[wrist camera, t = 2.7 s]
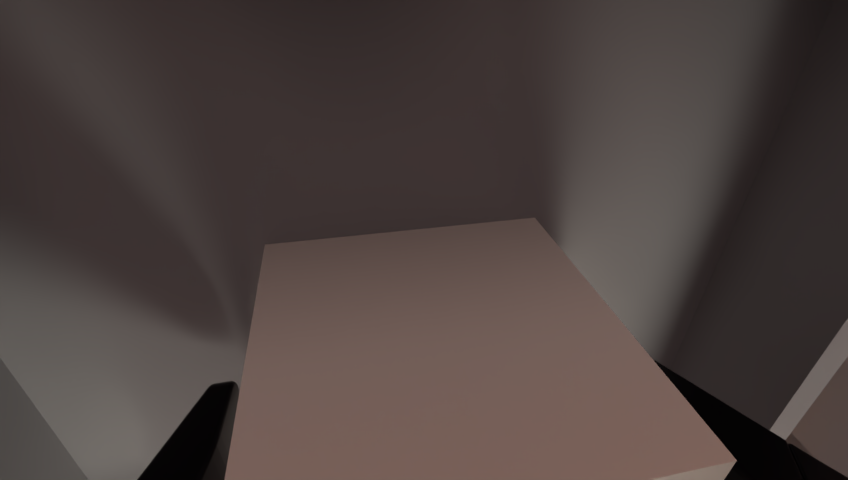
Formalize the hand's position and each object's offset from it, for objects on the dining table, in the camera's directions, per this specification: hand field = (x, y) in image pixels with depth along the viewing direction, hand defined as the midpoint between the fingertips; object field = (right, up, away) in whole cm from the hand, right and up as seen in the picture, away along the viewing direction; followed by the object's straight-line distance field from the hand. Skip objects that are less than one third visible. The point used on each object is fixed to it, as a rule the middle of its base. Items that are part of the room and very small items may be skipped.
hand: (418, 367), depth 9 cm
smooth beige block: (0, +1, +1) cm, 1 cm away
